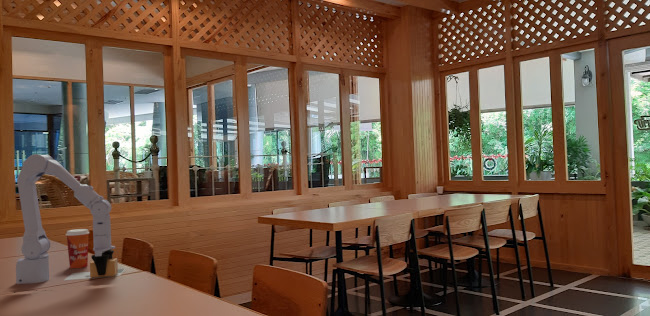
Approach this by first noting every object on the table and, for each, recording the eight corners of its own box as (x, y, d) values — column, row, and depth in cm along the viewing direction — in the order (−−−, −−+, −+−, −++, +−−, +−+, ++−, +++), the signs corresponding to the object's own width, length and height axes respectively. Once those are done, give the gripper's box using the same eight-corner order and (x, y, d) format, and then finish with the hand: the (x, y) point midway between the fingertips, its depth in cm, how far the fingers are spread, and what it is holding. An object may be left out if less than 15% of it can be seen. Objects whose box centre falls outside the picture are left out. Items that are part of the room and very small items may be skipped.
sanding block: (90, 277, 175) (89, 262, 175) (93, 274, 180) (93, 260, 180) (115, 275, 177) (114, 261, 177) (117, 272, 182) (117, 258, 182)
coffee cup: (70, 272, 190) (69, 232, 191) (64, 269, 197) (63, 230, 197) (93, 268, 196) (92, 229, 196) (87, 265, 202) (86, 228, 202)
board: (63, 283, 173) (63, 280, 173) (73, 275, 185) (73, 272, 185) (119, 278, 177) (119, 275, 177) (125, 271, 188) (125, 268, 188)
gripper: (110, 236, 172) (111, 276, 172) (118, 231, 186) (119, 268, 186) (87, 238, 171) (89, 278, 171) (97, 232, 185) (98, 269, 185)
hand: (103, 273), depth 179 cm, fingers closed on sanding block, 5 cm apart
